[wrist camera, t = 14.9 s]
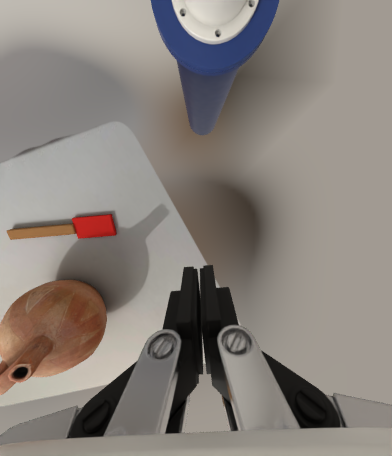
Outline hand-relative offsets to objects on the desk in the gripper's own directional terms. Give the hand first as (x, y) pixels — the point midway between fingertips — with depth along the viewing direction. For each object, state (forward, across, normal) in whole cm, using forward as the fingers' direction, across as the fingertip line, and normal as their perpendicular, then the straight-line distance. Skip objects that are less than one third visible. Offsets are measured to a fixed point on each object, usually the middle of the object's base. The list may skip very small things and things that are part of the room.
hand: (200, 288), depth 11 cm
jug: (+27, +31, +22) cm, 47 cm away
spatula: (+27, +29, +3) cm, 40 cm away
